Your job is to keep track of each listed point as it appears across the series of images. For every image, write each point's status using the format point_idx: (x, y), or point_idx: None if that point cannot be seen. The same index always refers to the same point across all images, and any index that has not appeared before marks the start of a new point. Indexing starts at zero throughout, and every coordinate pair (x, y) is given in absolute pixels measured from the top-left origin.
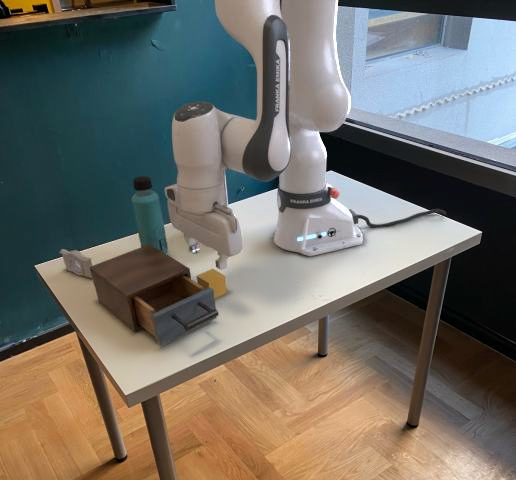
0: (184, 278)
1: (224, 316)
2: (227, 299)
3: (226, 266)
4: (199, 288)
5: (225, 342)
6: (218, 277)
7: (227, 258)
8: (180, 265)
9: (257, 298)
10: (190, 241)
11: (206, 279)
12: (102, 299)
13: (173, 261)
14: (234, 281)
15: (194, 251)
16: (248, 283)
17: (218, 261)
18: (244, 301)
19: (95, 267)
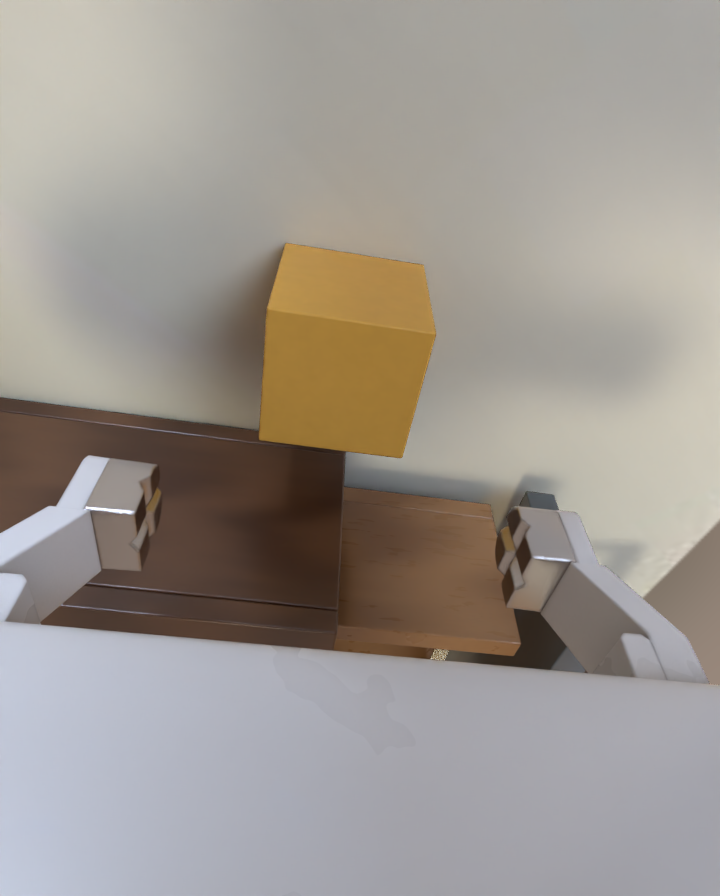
0: (355, 640)
1: (557, 434)
2: (476, 315)
3: (577, 518)
4: (508, 653)
5: (659, 542)
6: (409, 378)
7: (623, 584)
8: (250, 638)
9: (666, 185)
10: (65, 581)
11: (356, 438)
12: None
13: (162, 630)
14: (364, 90)
15: (155, 518)
16: (490, 34)
17: (554, 619)
18: (592, 270)
19: None
